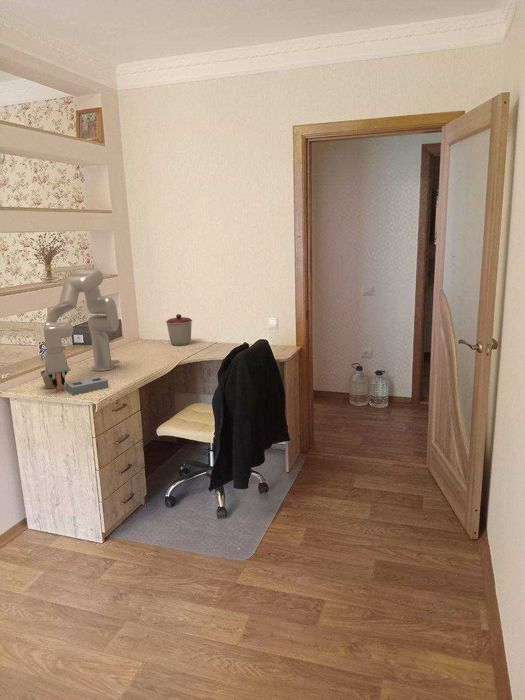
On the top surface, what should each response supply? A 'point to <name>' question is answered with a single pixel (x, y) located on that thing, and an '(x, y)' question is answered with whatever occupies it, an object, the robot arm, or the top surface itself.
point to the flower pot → (47, 380)
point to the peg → (59, 381)
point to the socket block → (87, 385)
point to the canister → (179, 330)
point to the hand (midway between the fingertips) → (59, 385)
